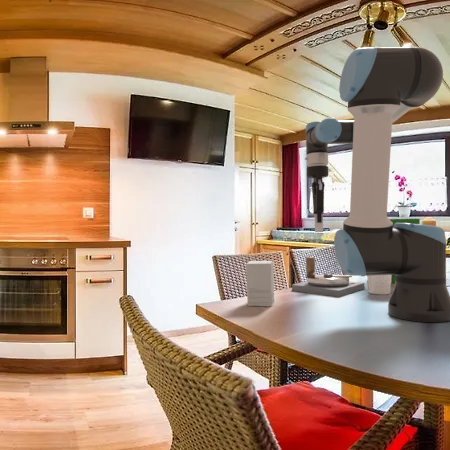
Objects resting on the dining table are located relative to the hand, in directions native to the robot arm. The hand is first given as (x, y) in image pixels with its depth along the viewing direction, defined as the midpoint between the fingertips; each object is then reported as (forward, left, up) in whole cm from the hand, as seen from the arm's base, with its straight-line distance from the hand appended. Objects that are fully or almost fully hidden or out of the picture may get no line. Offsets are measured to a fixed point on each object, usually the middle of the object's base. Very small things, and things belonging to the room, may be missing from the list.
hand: (319, 232), depth 139 cm
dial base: (-1, -4, -20) cm, 21 cm away
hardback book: (+28, -15, -20) cm, 38 cm away
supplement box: (-33, 0, -20) cm, 39 cm away
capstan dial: (-1, -4, -18) cm, 18 cm away
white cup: (+4, -20, -20) cm, 29 cm away
